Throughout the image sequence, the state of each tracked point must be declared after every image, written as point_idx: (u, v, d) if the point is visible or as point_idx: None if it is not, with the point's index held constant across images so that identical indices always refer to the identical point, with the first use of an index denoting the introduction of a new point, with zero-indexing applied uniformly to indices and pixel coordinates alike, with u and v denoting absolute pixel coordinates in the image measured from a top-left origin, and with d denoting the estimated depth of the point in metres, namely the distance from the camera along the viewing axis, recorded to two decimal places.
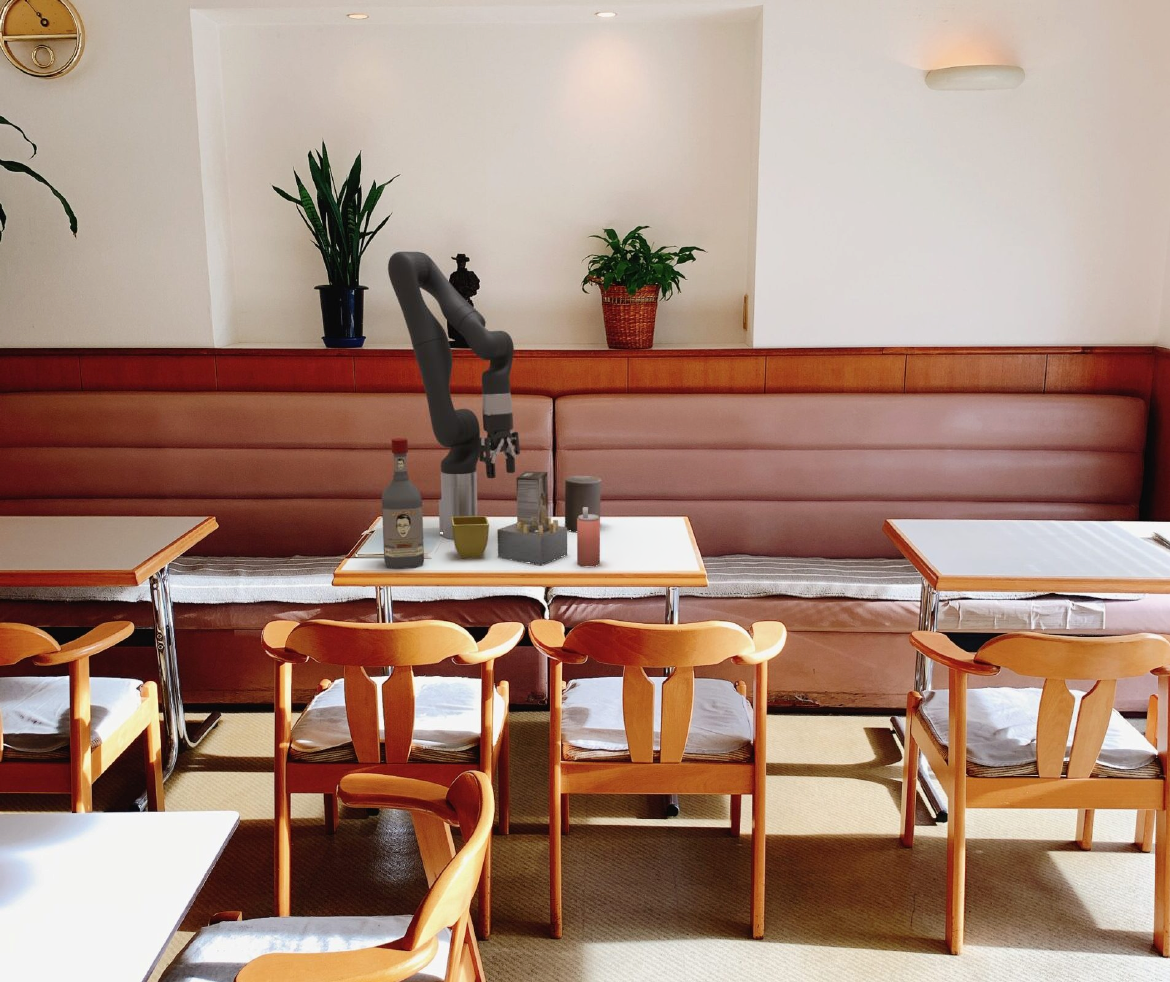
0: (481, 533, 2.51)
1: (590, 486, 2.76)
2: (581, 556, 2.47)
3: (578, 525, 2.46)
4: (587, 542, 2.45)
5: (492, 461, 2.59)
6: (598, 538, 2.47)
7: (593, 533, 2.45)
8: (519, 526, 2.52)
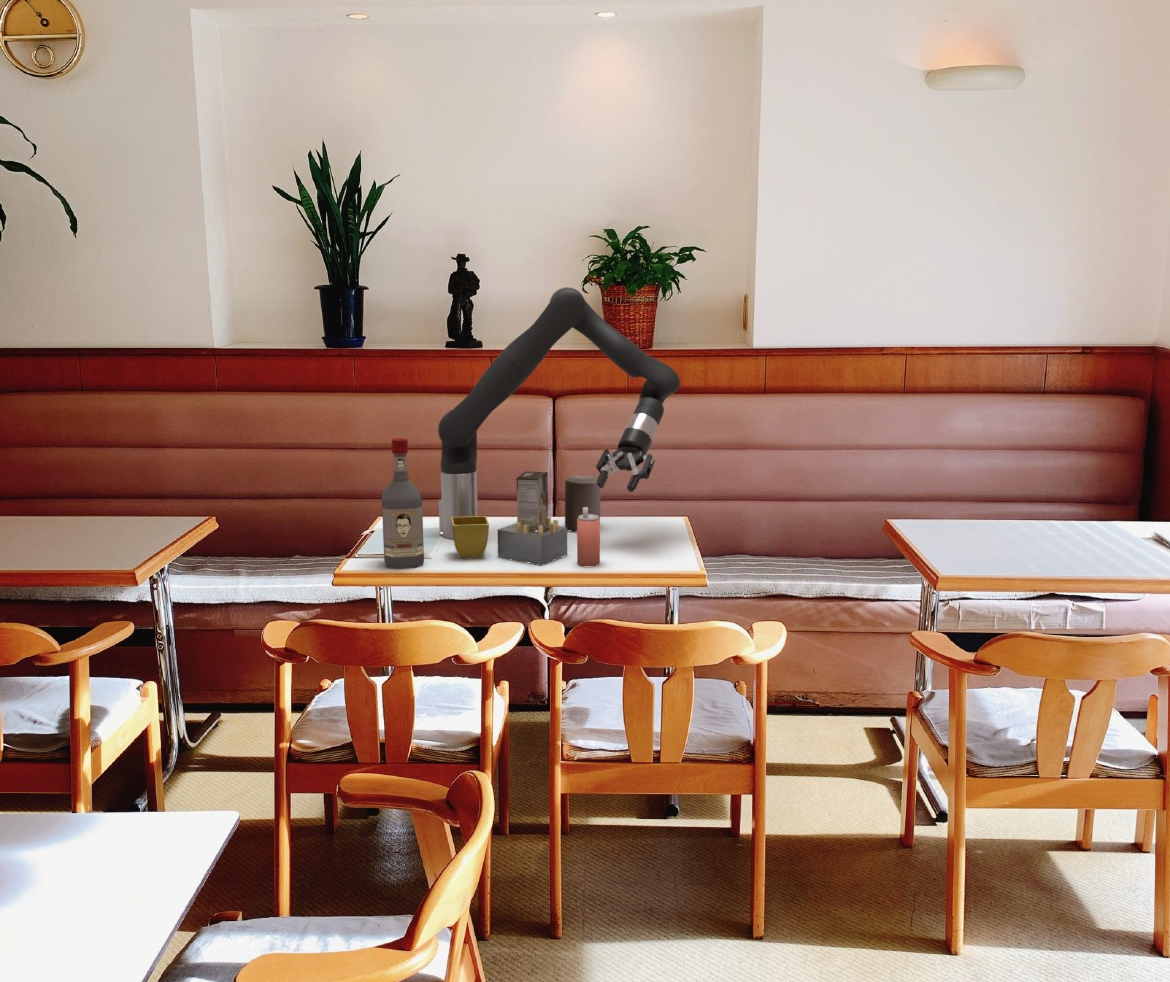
0: (481, 533, 2.51)
1: (590, 486, 2.76)
2: (581, 556, 2.47)
3: (578, 525, 2.46)
4: (587, 542, 2.45)
5: None
6: (598, 538, 2.47)
7: (593, 533, 2.45)
8: (519, 526, 2.52)
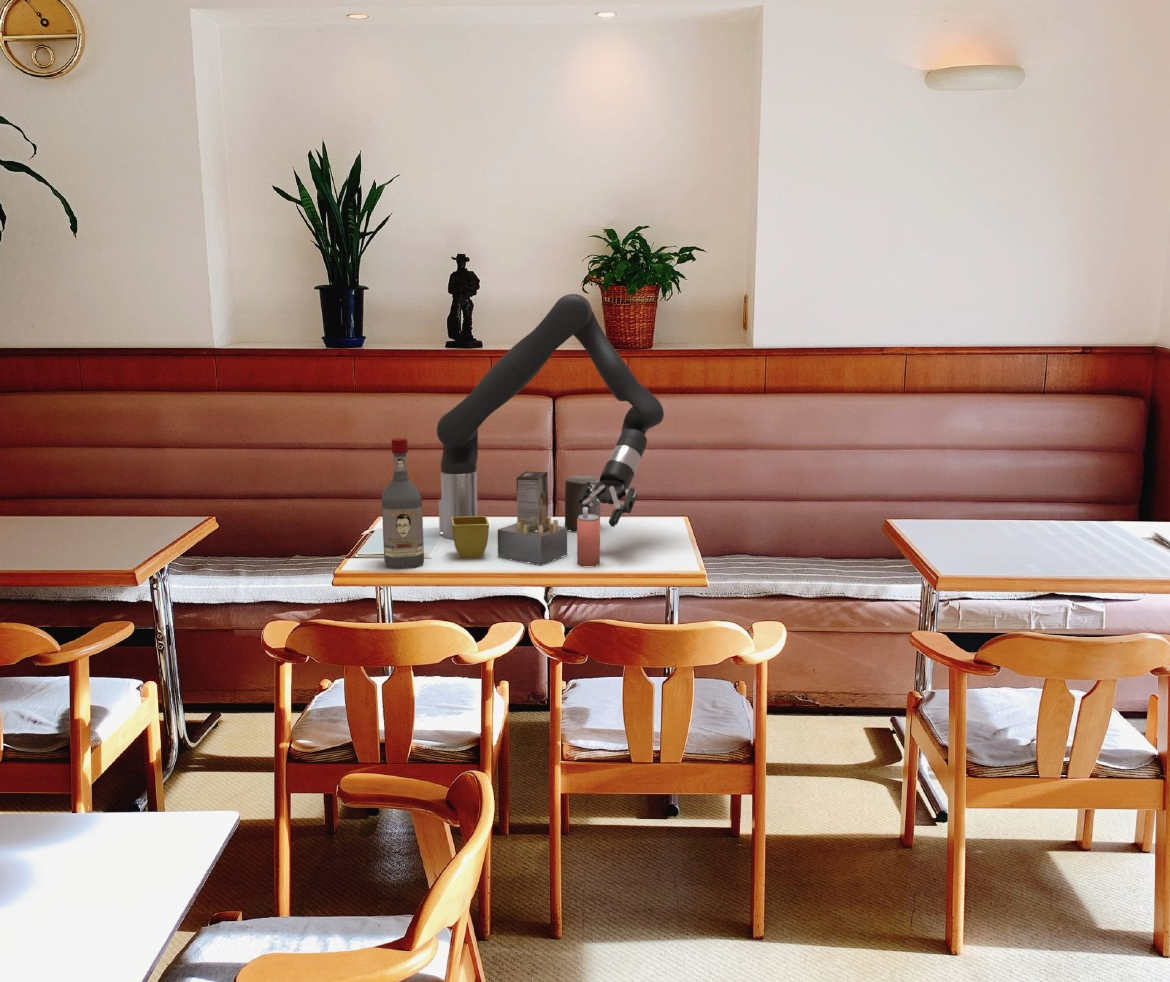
0: (481, 533, 2.51)
1: None
2: (581, 556, 2.47)
3: (578, 525, 2.46)
4: (587, 542, 2.45)
5: None
6: (598, 538, 2.47)
7: (593, 533, 2.45)
8: (519, 526, 2.52)
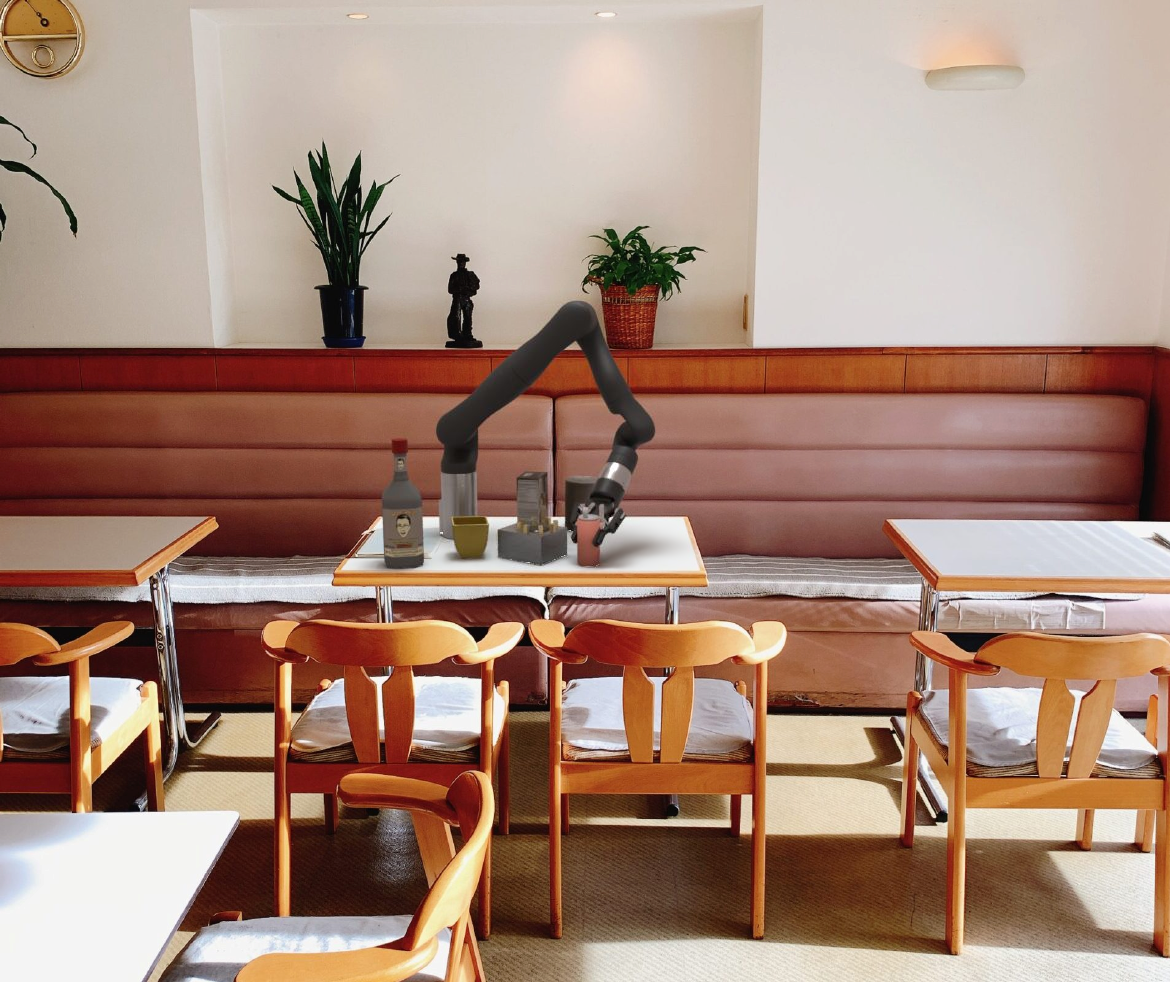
0: (481, 533, 2.51)
1: (590, 486, 2.76)
2: (581, 556, 2.47)
3: (578, 525, 2.46)
4: (588, 542, 2.45)
5: None
6: None
7: (593, 533, 2.45)
8: (519, 526, 2.52)
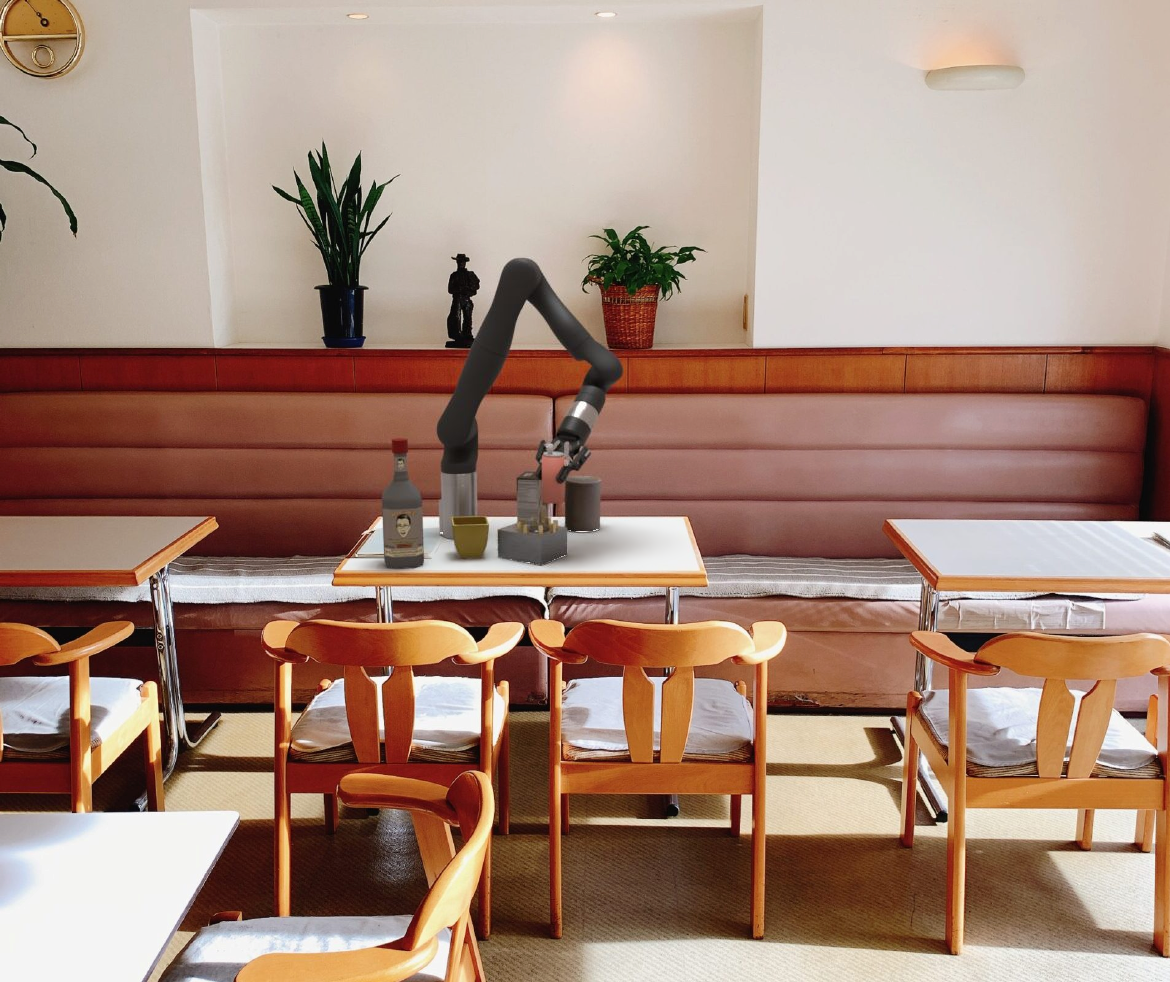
0: (481, 533, 2.51)
1: (590, 486, 2.76)
2: (545, 493, 2.47)
3: (543, 461, 2.47)
4: (551, 478, 2.46)
5: None
6: None
7: (557, 470, 2.46)
8: (519, 526, 2.52)
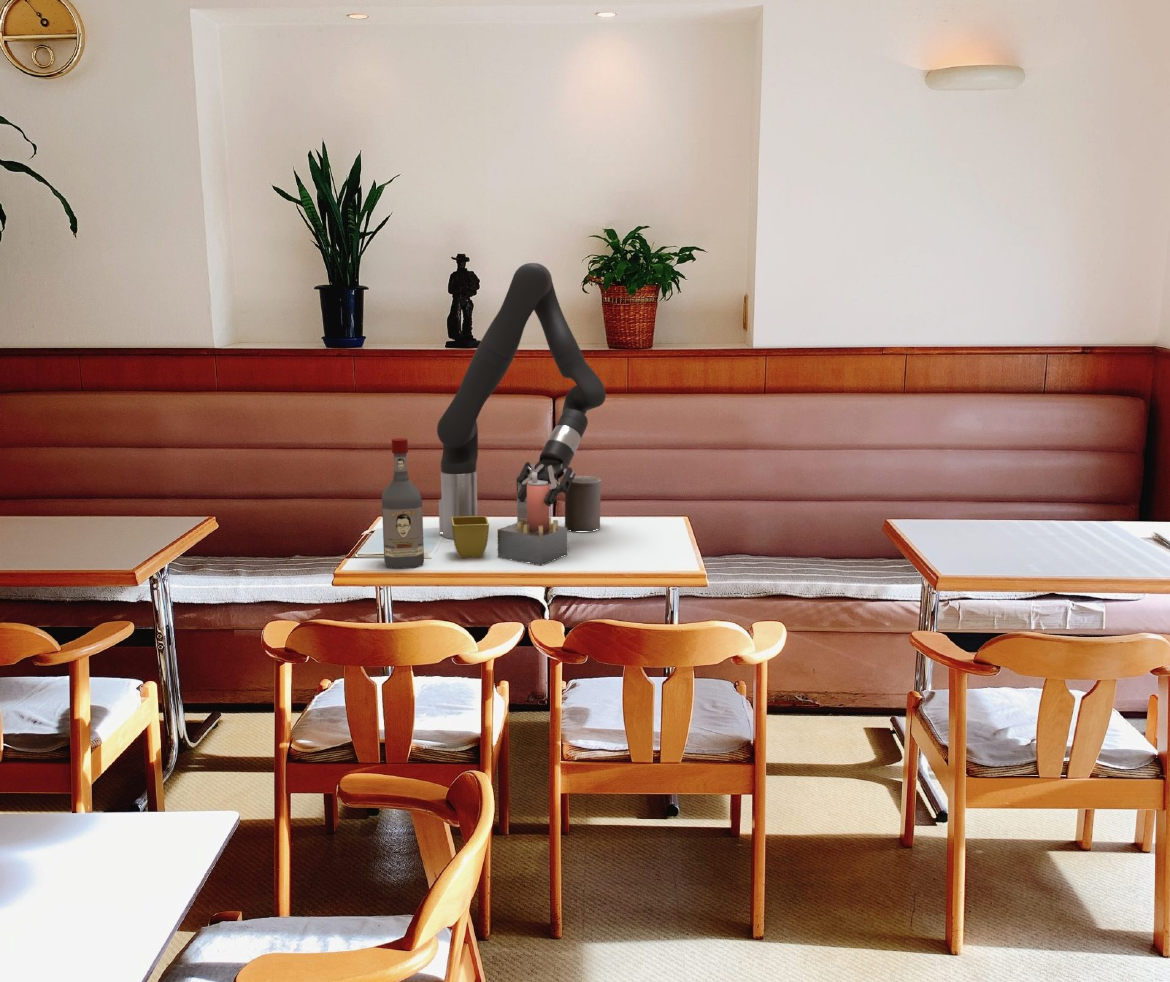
0: (481, 533, 2.51)
1: (590, 486, 2.76)
2: (530, 521, 2.51)
3: (527, 490, 2.50)
4: (536, 506, 2.50)
5: None
6: None
7: (542, 498, 2.49)
8: (519, 526, 2.52)
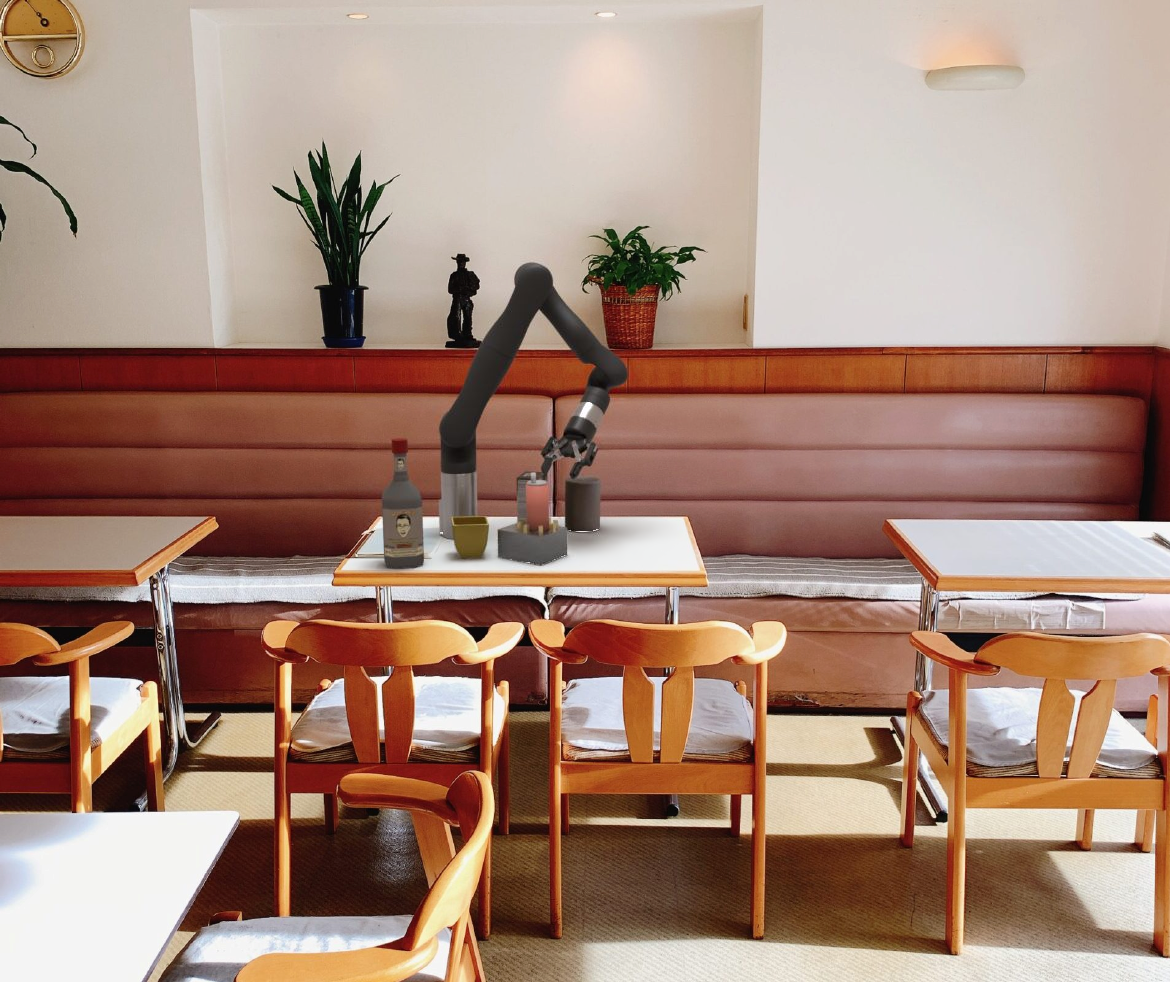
0: (481, 533, 2.51)
1: (590, 486, 2.76)
2: (530, 521, 2.51)
3: (527, 490, 2.50)
4: (536, 507, 2.50)
5: None
6: (546, 503, 2.51)
7: (541, 498, 2.49)
8: (519, 526, 2.52)
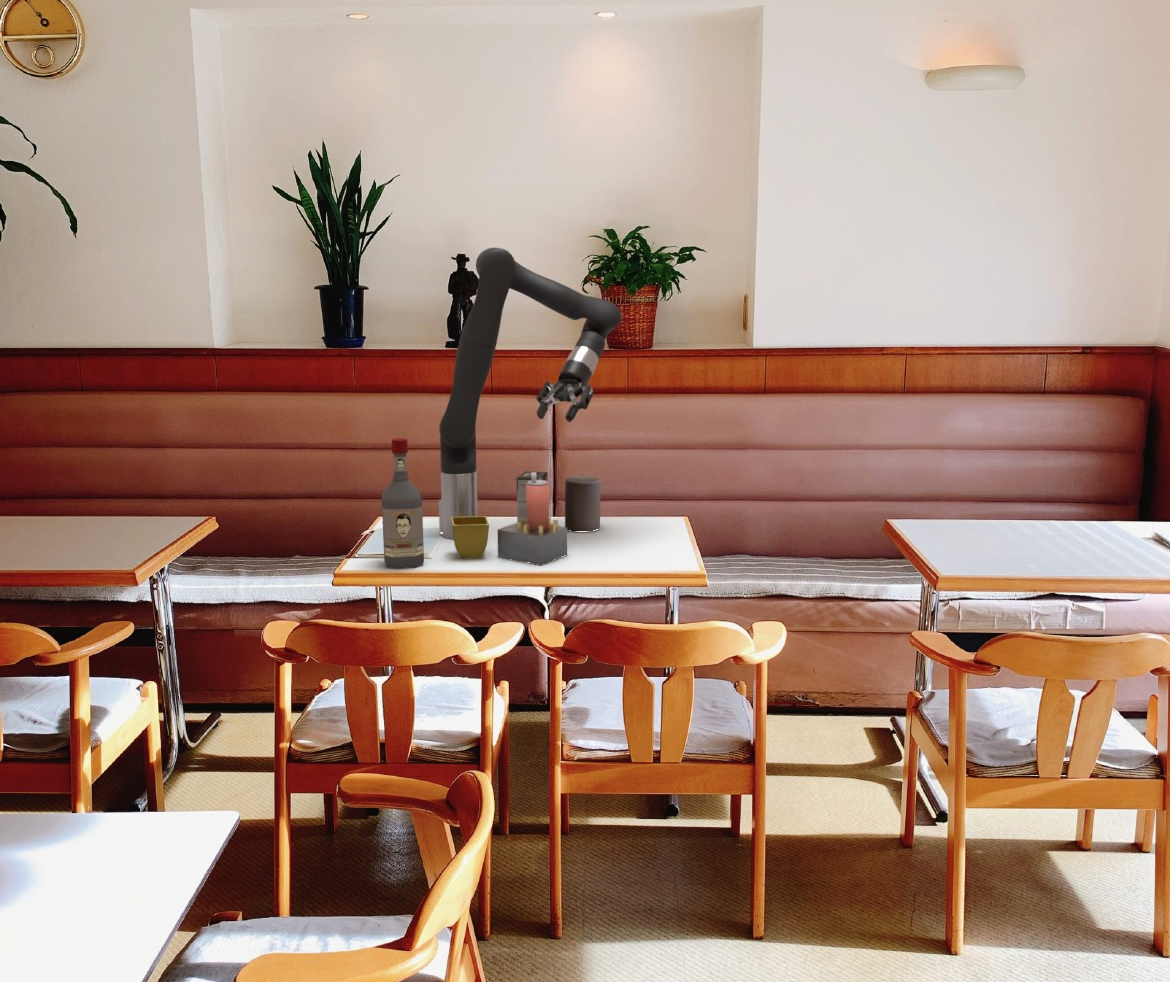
0: (481, 533, 2.51)
1: (590, 486, 2.76)
2: (530, 521, 2.51)
3: (527, 490, 2.50)
4: (536, 506, 2.50)
5: None
6: (547, 503, 2.51)
7: (541, 498, 2.49)
8: (519, 526, 2.52)
